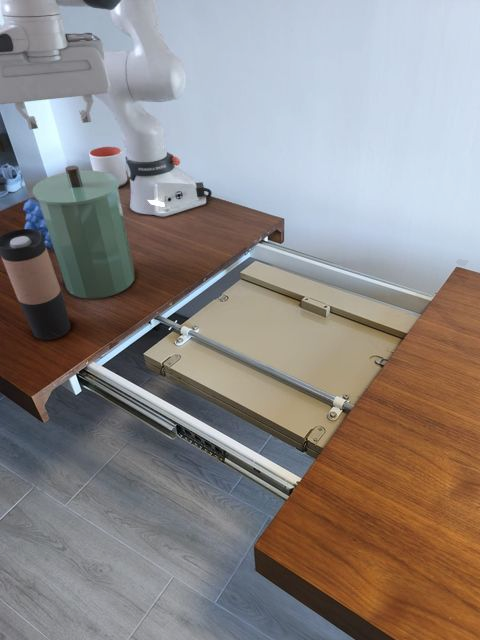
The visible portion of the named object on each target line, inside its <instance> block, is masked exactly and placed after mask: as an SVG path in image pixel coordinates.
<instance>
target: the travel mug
mask: <svg viewBox="0 0 480 640" xmlns="http://www.w3.org/2000/svg"><path fill="white" fill-rule="evenodd" d="M47 248H48V247H47V246H46V245H45V242H44V239H43V236H42V234H41V233H40V232H39V231H37V230H34V229H25V228H20V229H19V228H18V229H14V230H11V231H7V232H6V233H4V234H2V235H0V257H1V261H2V262H3V263H2V264H3V265H4V267H5V268H4V269H5V270H6V273H7V275H8V278H9V280H10V284H11V285H12V289H13V291H14V293H15V296H16V299H17V301H18V303H19V305H20V307H21V310H22V311H23V314H24V316H25V318H26V320H27V321H26V322H27V323H28V325H29V327H30V330H31V331H32V334H33V336H34V337H35V338H37V339H39V340H42V341H50V340H55V339H58V338H61V337H63V336H64V335H66V334H67V333H68V332H69V331H70V329H71V321H70V317H69V314H68V310H67V307H66V304H65V301H64V296H63V293H62V289H61V286H60V285H59V281H58V278H57V275H56V272H55V269H54V266H53V262H52V260H51V257H50V254H49V251H48V249H47Z"/></svg>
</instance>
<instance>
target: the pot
mask: <svg viewBox="0 0 480 640" xmlns="http://www.w3.org/2000/svg"><path fill="white" fill-rule="evenodd" d="M37 202H38V203H39V205H40V208H41V211H42V214H43V218H44V221H45V224H46V227H47V230H48V233H49V236H50V239H51V243H52V246H53V249H52V250H53V251H54V255H55V259H56V261H57V264H58V267H59V270H60V274H61V277H62V280H63V283H64V286H65V289H66V291H68V293H70V294H71V295H73V296H75V297H77V298H81V299H90V300H91V299H102V298H107V297H111V296H115V295H117V294H119V293H122V292H123V291H126V289H128V288H129V287H130V286H131V285H132V283H134V281H135V277H136V276H135V273H136V272H135V267H134V261H133V257H132V252H131V247H130V242H129V236H128V232H127V227H126V222H125V217H124V213H123V208H122V201H121V198H120V192H119V188H118V189H117V190H116V191H115V192H114V193H113V194H111V195H109V196H108V197H105V198H103V199H100V200H97V201H94V202H90V203H85V204H78V205H51V204H46V203H43V202H40V201H38V200H37Z"/></svg>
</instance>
